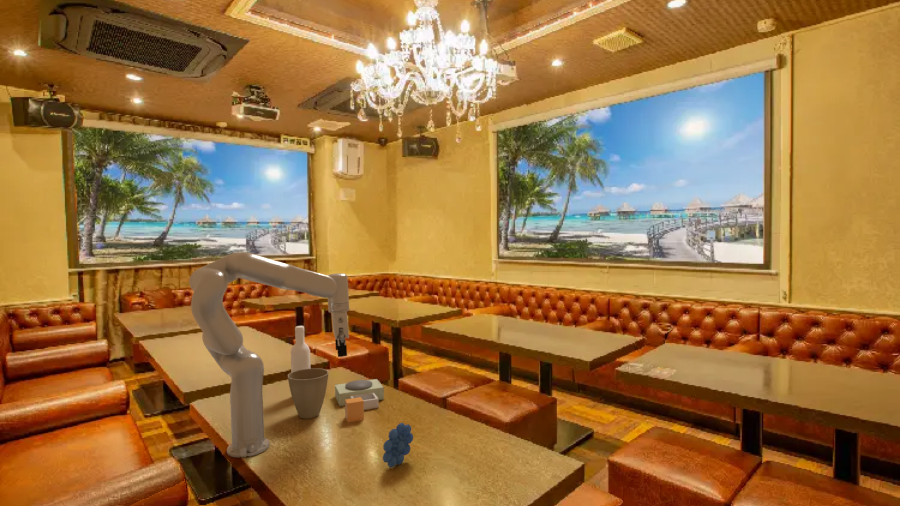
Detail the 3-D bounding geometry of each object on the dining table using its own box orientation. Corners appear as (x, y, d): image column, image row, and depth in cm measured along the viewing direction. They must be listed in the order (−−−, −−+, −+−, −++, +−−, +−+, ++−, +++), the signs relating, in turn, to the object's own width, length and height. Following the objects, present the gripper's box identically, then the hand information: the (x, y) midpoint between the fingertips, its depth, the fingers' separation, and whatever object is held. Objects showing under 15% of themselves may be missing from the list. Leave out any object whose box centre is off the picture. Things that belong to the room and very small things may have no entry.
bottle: (291, 395, 198) (288, 325, 197) (310, 392, 202) (307, 324, 200) (293, 401, 191) (290, 329, 190) (312, 398, 194) (310, 327, 193)
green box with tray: (389, 405, 184) (388, 391, 184) (343, 413, 177) (342, 398, 177) (377, 390, 203) (376, 377, 202) (335, 396, 196) (334, 383, 196)
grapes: (402, 452, 144) (402, 414, 144) (418, 459, 140) (417, 420, 140) (374, 467, 136) (373, 427, 135) (389, 474, 131) (388, 433, 131)
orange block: (363, 419, 171) (363, 400, 171) (347, 422, 169) (347, 403, 168) (361, 415, 175) (360, 397, 175) (345, 417, 173) (344, 399, 173)
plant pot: (332, 418, 172) (330, 376, 171) (290, 425, 167) (288, 381, 166) (327, 405, 186) (326, 366, 185) (288, 411, 181) (286, 370, 180)
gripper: (351, 310, 163) (354, 357, 164) (346, 302, 180) (349, 346, 181) (329, 312, 161) (332, 360, 162) (326, 304, 177) (329, 348, 178)
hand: (341, 352), depth 171 cm, fingers open, 9 cm apart
